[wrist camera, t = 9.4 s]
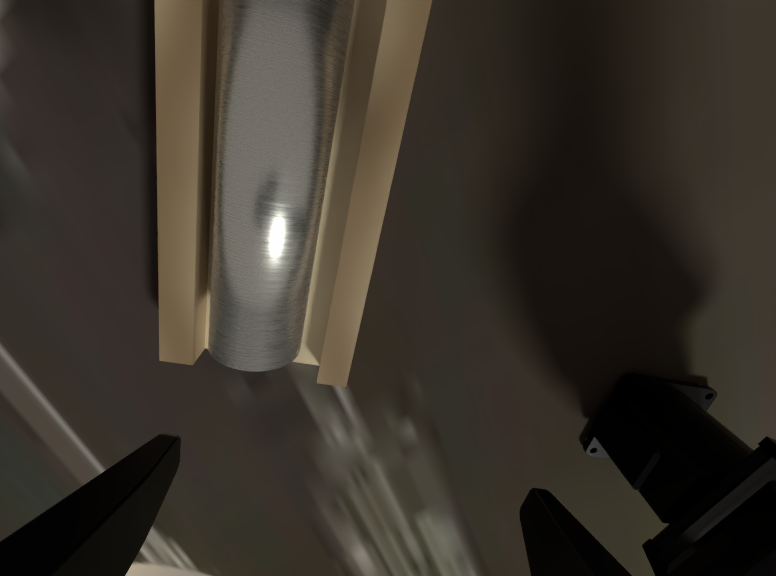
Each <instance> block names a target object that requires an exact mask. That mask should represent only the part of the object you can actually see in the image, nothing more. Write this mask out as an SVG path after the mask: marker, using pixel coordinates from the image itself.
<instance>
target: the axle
mask: <svg viewBox="0 0 776 576" xmlns="http://www.w3.org/2000/svg"><path fill="white" fill-rule="evenodd" d="M354 2H355V0H223V19H222V42H221V65H220V87H219V110H218V133H217V156H216V179H215V201H214V224H213V247H212V270H211V292H210V315H209V338H208V349H209V352H210V354H211V355H212V357H213V358H214V359H215V360H217V361H218V362H219V363H221V364H223V365H225V366H228V367H230V368H234V369H238V370H243V371H268V370H273V369H277V368H280V367H283V366H285V365H287V364H289V363H290V362H292V361H293V360H294V359H295V358H296V357H297V356H298V354H299V352H300V348H301V342H302V335H303V329H304V322H305V316H306V310H307V303H308V297H309V290H310V284H311V278H312V271H313V265H314V258H315V252H316V246H317V239H318V233H319V226H320V220H321V214H322V207H323V201H324V194H325V188H326V181H327V175H328V169H329V162H330V156H331V149H332V143H333V137H334V130H335V124H336V117H337V111H338V105H339V98H340V92H341V85H342V79H343V73H344V66H345V60H346V53H347V47H348V41H349V34H350V28H351V21H352V15H353V8H354Z"/></svg>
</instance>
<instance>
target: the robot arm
mask: <svg viewBox="0 0 776 576" xmlns="http://www.w3.org/2000/svg"><path fill="white" fill-rule="evenodd" d="M716 396H717V392H716V391H715V390H714V389H712V388H711V387H709V386H704V385H698V384H692V383H686V382H680V381H674V380H668V379H662V378H656V377H650V376H644V375H638V374H632V373H629V374H626V375H624V376H623V377H622V378H621V380H620V382H619V383H618V385H617V387H616V389H615V390H614V392H613V394H612V396H611V398H610V399H609V401H608V403H607V405H606V406H605V408H604V410H603V412H602V413H601V415H600V417H599V419H598V420H597V422H596V424H595V426H594V428H593V429H592V431H591V433H590V435H589V436H588V438H587V440H586V442H585V443H584V445H583V449H584V451H585V452H586V453H587V455H589V456H595V457H602V458H610V459H611V460H612V461H613V462H614V464H615V465H616V466H617V468H618V469H619V470H620V472H621V473H622V474H623V476H624V477H625V478H626V480H627V481H628V482H629V484H630V485H631V486H632V487H633V488H634V489H635V490H638V491H639V492H640V494H641V495H642V496H643V498H644V499H645V500H646V502H647V503H648V504H649V506H650V507H651V508H652V509H653V511H654V512H655V513H656V515H657V516H658V517H659V519H660V520H661V521H662V522H663V523H670V524H669V525H668V526H667V527H666V528H665V529H663V530H662V531H661V532H660V533H659V534H658V535H656V536H655V537H654V538H653V539H648V540H647V541H646V542H645V543H644V544H643V545H642V547H643V549H644V551H645V553H646V556H647V558H648V560H649V562H650V565H651V567H652V569H653V571H654V573H655V576H776V440H774V439H772V438H770V437H768V436H766V437H765V438H764V439H763V440H762V441H761V442H760V443H758V444H759V445H760V446H759V447H758V448H757V449H755V450H753V449H751V448H750V447H749V446H748V445H747V444H745V443H744V442H743V441H742V440H740V439H739V438H738V437H737V436H736V435H734V434H733V433H732V432H731V431H730V430H728V429H727V428H726V427H725V426H723V425H722V424H721V423H720V422H719V421H717V420H716V419H715V418H714V417H712V416H711V415H710V414H709V413H708V412H706V411H707V409H708V408H709V407H710V405H711V404H712V402H713V401H714V400H715V398H716ZM180 444H181V439H180V437H179V436H178V435H173V434H166V433H162V434H160V435H158V436H156V437H155V438H153V439H152V440H150V441H149V442H147V443H146V444H144V445H143V446H141V447H140V448H138V449H137V450H135V451H134V452H132V453H131V454H129V455H128V456H127V457H125V458H124V459H122V460H121V461H119V462H118V463H116V464H115V465H113V466H112V467H110V468H109V469H107V470H106V471H104V472H103V473H101V474H100V475H98V476H97V477H95V478H94V479H92V480H91V481H89V482H88V483H86V484H85V485H83V486H82V487H80V488H79V489H78V490H76V491H75V492H73V493H72V494H70V495H69V496H67V497H66V498H64V499H63V500H61V501H60V502H58V503H57V504H55V505H54V506H52V507H51V508H49V509H48V510H46V511H45V512H43V513H42V514H40V515H39V516H37V517H36V518H34V519H33V520H31V521H30V522H29V523H27V524H26V525H24V526H23V527H21V528H20V529H18V530H17V531H15V532H14V533H12V534H11V535H9V536H8V537H6V538H5V539H3V540H2V541H0V576H125V575H126V573H127V571H128V570H129V568H130V566H131V565H132V563H133V561H134V559H135V558H136V556H137V554H138V552H139V551H140V549H141V547H142V545H143V543H144V541H145V539H146V537H147V535H148V533H149V531H150V529H151V527H152V525H153V522H154V520H155V518H156V516H157V514H158V511H159V509H160V507H161V505H162V503H163V500H164V498H165V496H166V494H167V492H168V489H169V487H170V485H171V483H172V481H173V478H174V476H175V474H176V472H177V469H178V466H179V462H180ZM520 522H521V527H522V532H523V537H524V542H525V547H526V552H527V557H528V562H529V568H530V573H531V576H632V575H631V574H630V573H629V572H628V571H627V570H626V569H625V568H624V567H623V566H622V565H621V564H620V563H619V562H618V561H617V560H616V559H615V558H614V557H613V556H612V555H611V554H610V553H609V552H608V551H607V550H606V549H605V548H604V547H603V546H602V545H601V544H600V543H599V542H598V541H597V540H596V539H595V538H594V537H593V536H592V535H591V533H590V532H589V531H588V530H587V529H586V528H585V527H584V526H583V525H582V524H581V523H580V522H579V521H578V520H577V519H576V518H575V517H574V516H573V515H572V514H571V513H570V512H569V511H568V510H567V509H566V508H565V507H564V506H563V505H562V504H561V503H560V502H559V501H558V500H557V499H556V498H555V497H554V496H553V495H552V494H551V493H550V492H549V491H548V490H545V489H539V488H532V489H531V490H530V491H529V493H528V495H527V497H526V498H525V500H524V502H523V504H522V506H521V508H520Z"/></svg>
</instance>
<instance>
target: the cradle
mask: <svg viewBox="0 0 776 576" xmlns="http://www.w3.org/2000/svg"><path fill="white" fill-rule="evenodd" d="M431 3H432V0H355V2H354V8H353V15H352V21H351V28H350V34H349V41H348V47H347V53H346V60H345V66H344V73H343V79H342V85H341V92H340V98H339V105H338V111H337V117H336V124H335V130H334V137H333V143H332V149H331V156H330V162H329V169H328V175H327V181H326V188H325V194H324V201H323V207H322V214H321V220H320V226H319V233H318V239H317V246H316V252H315V258H314V265H313V271H312V278H311V284H310V290H309V297H308V303H307V310H306V316H305V322H304V329H303V335H302V342H301V348H300V352H299V354H298V356H297V357H296V358H295V359H294V360H293V362H299V363H306V364H313V365H320V368H319V373H318V379H317V383H320V384H327V385H334V386H341V387H346V385H347V380H348V376H349V371H350V367H351V363H352V358H353V354H354V349H355V345H356V340H357V336H358V331H359V327H360V322H361V318H362V313H363V309H364V304H365V300H366V295H367V291H368V286H369V282H370V277H371V273H372V268H373V264H374V259H375V255H376V250H377V246H378V241H379V237H380V232H381V228H382V223H383V219H384V214H385V210H386V205H387V201H388V196H389V192H390V187H391V183H392V178H393V174H394V169H395V165H396V160H397V156H398V152H399V147H400V143H401V138H402V134H403V129H404V125H405V120H406V116H407V111H408V107H409V102H410V98H411V93H412V89H413V84H414V80H415V75H416V71H417V66H418V62H419V57H420V53H421V48H422V44H423V39H424V35H425V30H426V26H427V21H428V17H429V12H430V8H431ZM222 19H223V0H155V66H156V138H157V210H158V282H159V354H160V361H166V362H173V363H180V364H187V365H193V364H194V363H195V361H196V360H197V358H198V357H199V356H200V354H201V353H202V352H203V350H204V349H205V348H206V349H208V338H209V315H210V292H211V270H212V247H213V224H214V201H215V179H216V156H217V133H218V110H219V87H220V65H221V42H222Z"/></svg>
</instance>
